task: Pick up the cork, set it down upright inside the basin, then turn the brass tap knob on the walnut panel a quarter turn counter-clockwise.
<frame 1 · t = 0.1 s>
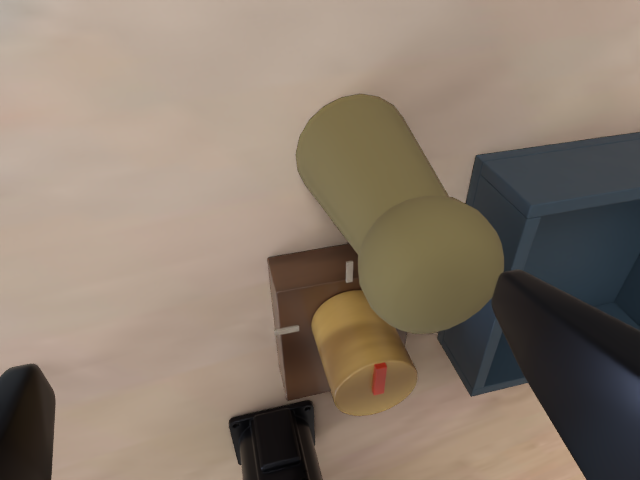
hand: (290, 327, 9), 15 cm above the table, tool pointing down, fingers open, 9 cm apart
cork: (351, 150, 24), on the table
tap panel: (333, 305, 31), on the table
tap knob: (362, 353, 25), point 6 cm above the table, hinge at 0.0°
basin: (556, 241, 32), on the table
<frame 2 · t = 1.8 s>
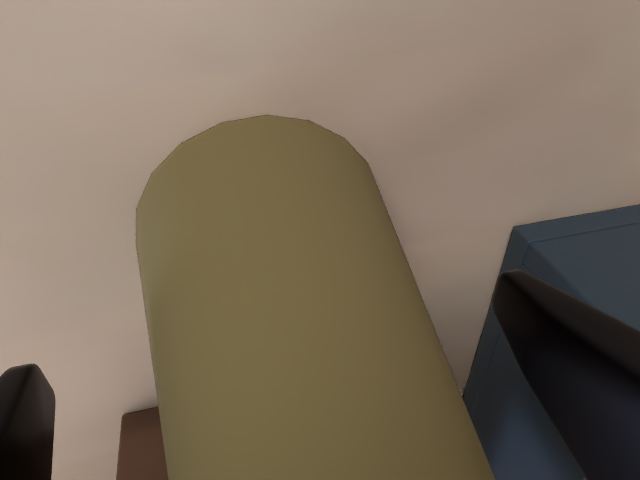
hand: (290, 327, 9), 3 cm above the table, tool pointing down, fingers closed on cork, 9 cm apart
cork: (263, 227, 12), on the table, touching gripper
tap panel: (264, 462, 18), on the table
basin: (633, 345, 20), on the table
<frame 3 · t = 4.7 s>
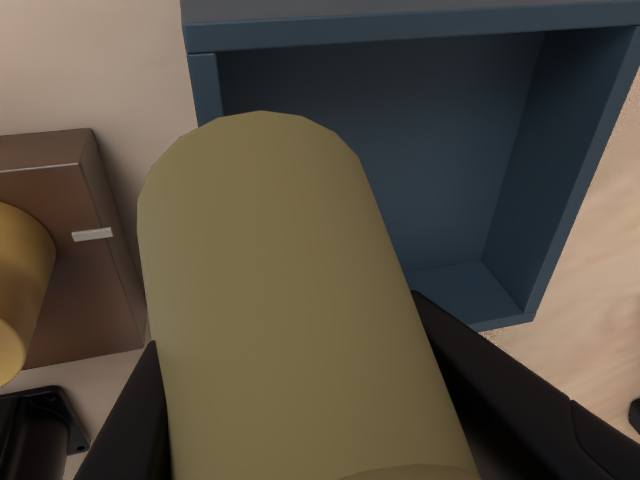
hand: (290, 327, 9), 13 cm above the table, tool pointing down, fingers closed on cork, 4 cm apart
cork: (259, 218, 12), point 9 cm above the table, touching gripper
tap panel: (28, 241, 21), on the table
basin: (373, 161, 23), on the table
when the fingers open (5 cm above the table, at t = 7.6 s): cork stays where it is, resting on basin.
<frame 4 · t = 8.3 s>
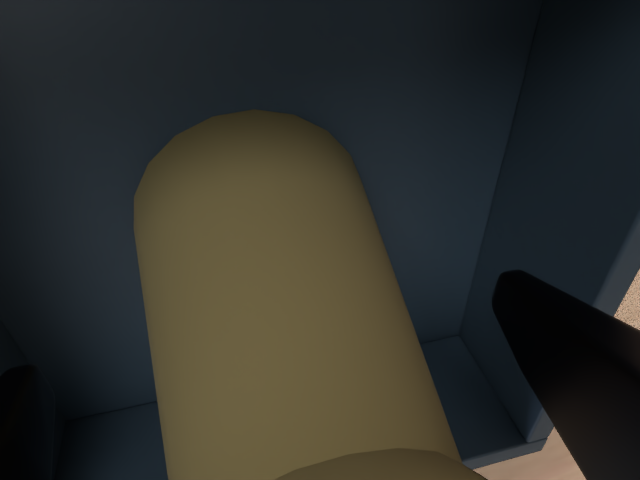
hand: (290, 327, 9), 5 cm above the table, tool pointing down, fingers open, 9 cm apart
cork: (253, 215, 13), point 1 cm above the table, touching basin
basin: (254, 195, 13), on the table
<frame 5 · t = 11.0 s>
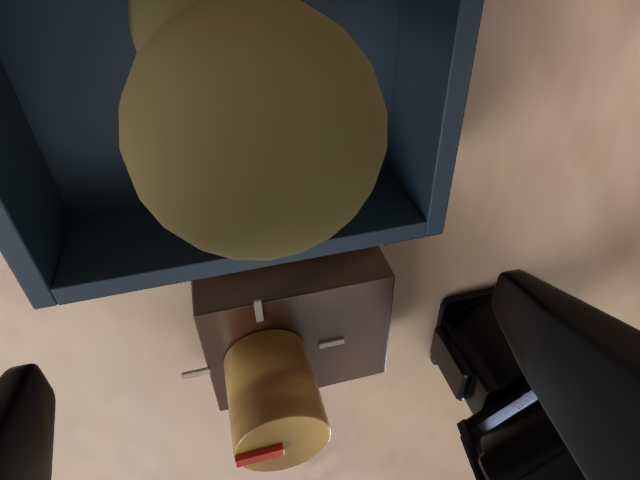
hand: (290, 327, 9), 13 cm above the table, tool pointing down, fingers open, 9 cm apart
cork: (218, 22, 17), point 1 cm above the table, touching basin
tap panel: (291, 308, 27), on the table
tap knob: (274, 400, 23), point 6 cm above the table, hinge at 0.0°
basin: (210, 15, 17), on the table
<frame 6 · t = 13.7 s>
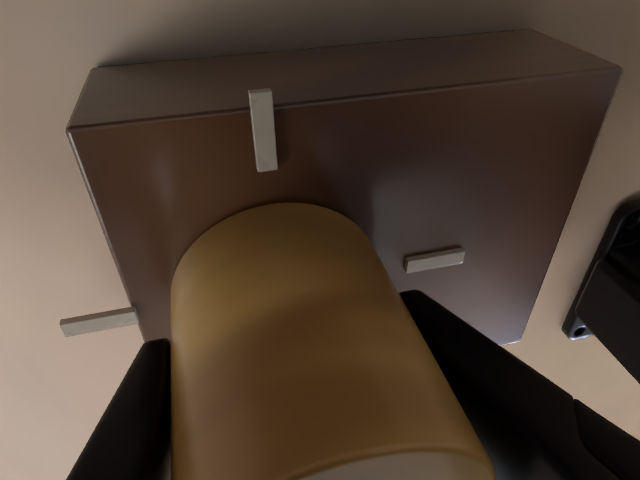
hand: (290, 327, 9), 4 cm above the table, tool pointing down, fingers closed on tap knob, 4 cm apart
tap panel: (331, 199, 13), on the table
tap knob: (305, 392, 8), point 6 cm above the table, hinge at 0.0°, touching gripper
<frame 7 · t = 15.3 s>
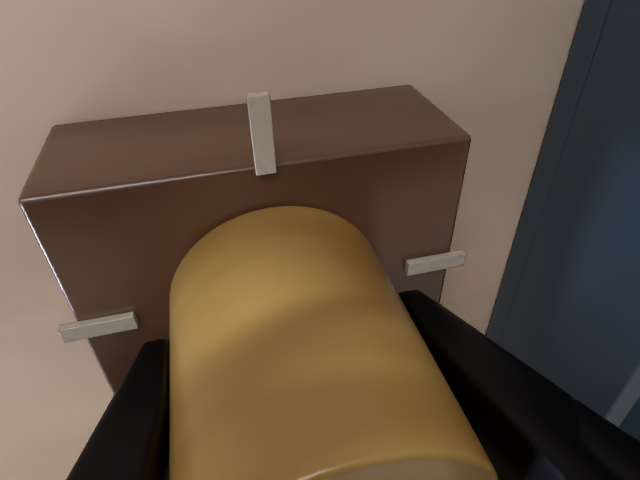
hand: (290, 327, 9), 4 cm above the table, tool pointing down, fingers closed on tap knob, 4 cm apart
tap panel: (264, 270, 14), on the table
tap knob: (306, 397, 8), point 6 cm above the table, hinge at 90.3°, touching gripper
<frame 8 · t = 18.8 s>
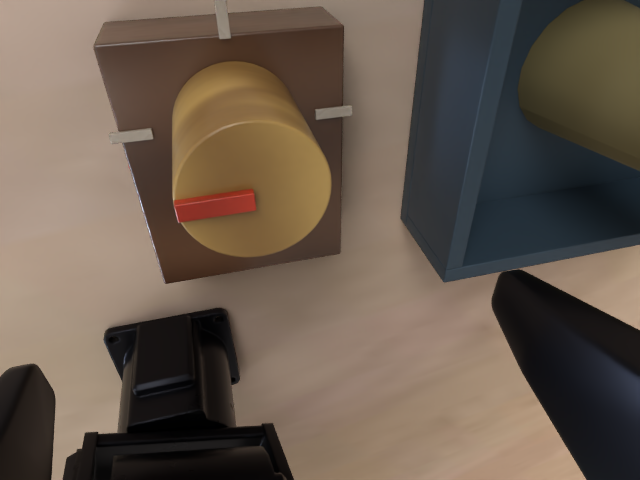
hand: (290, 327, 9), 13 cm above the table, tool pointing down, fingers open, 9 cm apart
cork: (575, 66, 22), point 1 cm above the table, touching basin
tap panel: (234, 138, 20), on the table
tap knob: (245, 157, 15), point 6 cm above the table, hinge at 90.6°
basin: (570, 57, 22), on the table
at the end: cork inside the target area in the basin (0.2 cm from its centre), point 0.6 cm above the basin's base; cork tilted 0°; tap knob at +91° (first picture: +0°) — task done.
